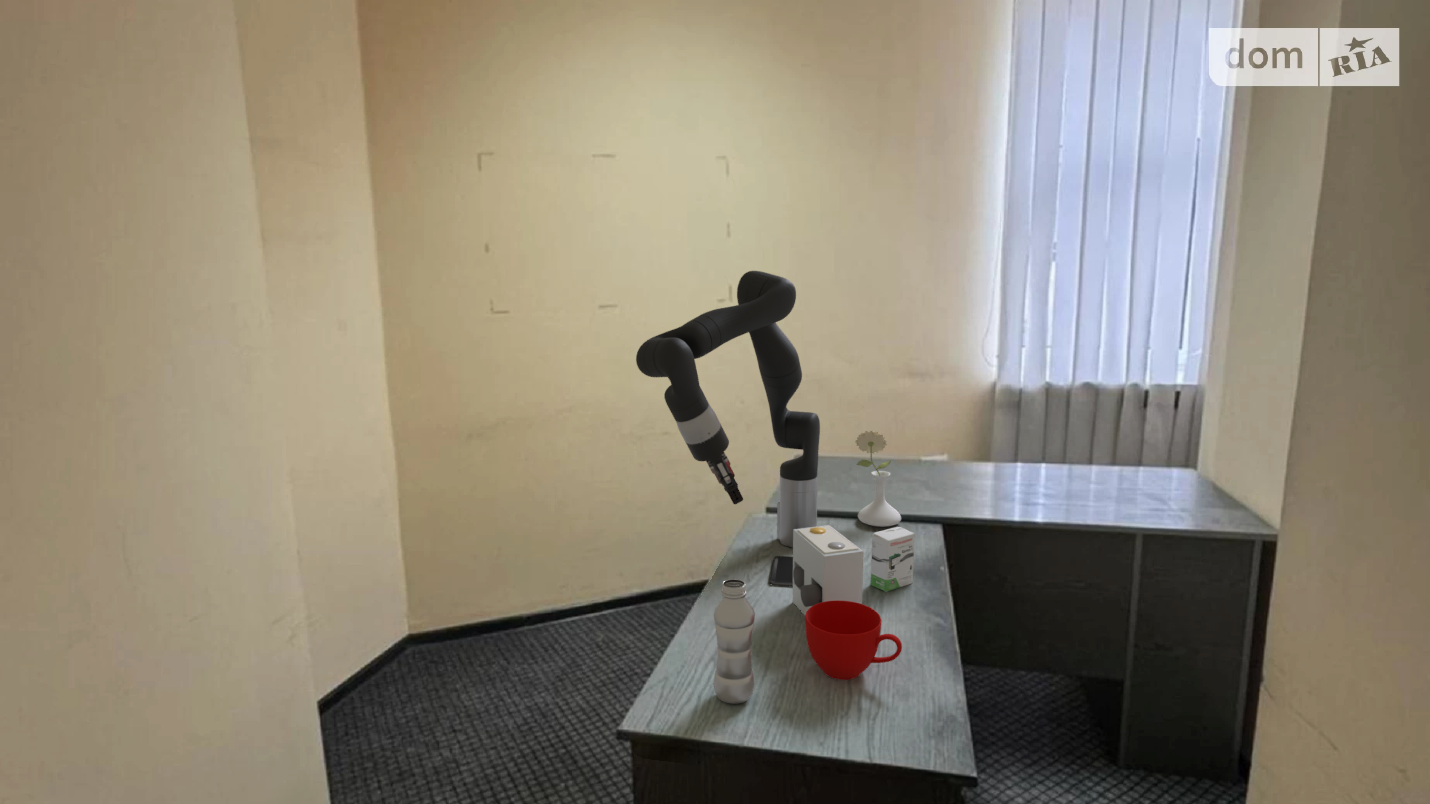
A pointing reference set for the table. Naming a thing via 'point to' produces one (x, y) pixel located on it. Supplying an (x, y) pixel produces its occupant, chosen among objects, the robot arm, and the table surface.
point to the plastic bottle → (734, 644)
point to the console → (827, 564)
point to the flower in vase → (879, 508)
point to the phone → (782, 571)
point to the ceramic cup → (845, 638)
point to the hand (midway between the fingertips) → (738, 500)
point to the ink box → (892, 558)
